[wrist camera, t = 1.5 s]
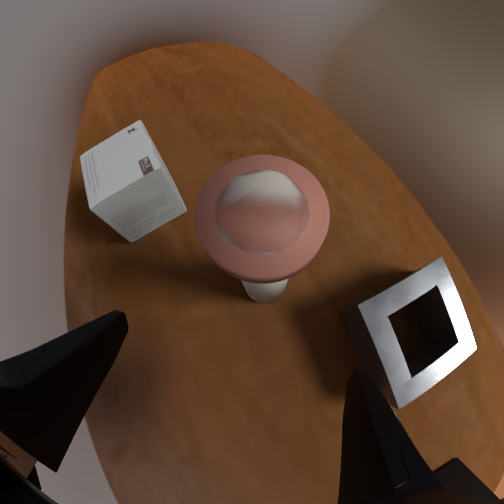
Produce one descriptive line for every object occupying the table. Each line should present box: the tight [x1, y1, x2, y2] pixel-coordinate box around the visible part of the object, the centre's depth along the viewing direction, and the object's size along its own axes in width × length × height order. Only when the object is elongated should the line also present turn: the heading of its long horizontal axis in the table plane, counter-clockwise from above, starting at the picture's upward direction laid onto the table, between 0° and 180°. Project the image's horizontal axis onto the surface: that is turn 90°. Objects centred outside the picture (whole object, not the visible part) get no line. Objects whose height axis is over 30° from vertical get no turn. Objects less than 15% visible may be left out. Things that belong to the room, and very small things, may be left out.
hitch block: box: [340, 257, 477, 409], centre depth 18 cm, size 8×8×4 cm
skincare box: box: [80, 120, 187, 242], centre depth 21 cm, size 6×6×7 cm
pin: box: [195, 155, 330, 304], centre depth 15 cm, size 5×5×13 cm
